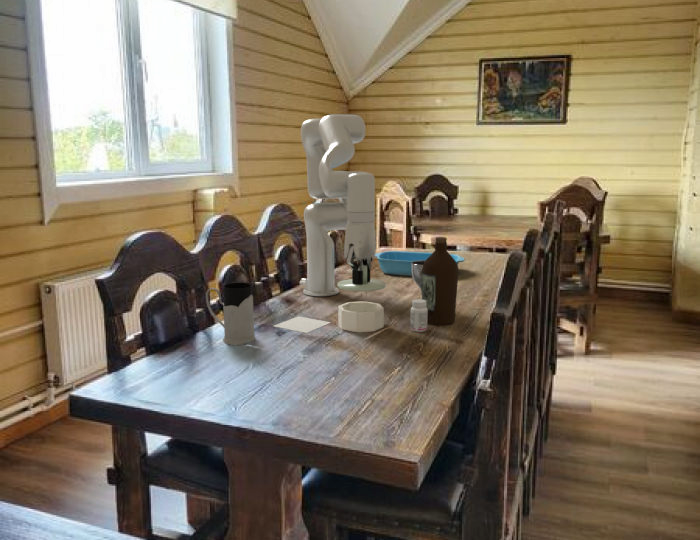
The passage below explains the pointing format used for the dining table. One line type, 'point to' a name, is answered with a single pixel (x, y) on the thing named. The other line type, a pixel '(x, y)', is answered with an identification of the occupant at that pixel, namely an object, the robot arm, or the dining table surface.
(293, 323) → the mat
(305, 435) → the dining table surface
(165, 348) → the dining table surface
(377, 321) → the bowl
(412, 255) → the casserole dish
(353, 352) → the dining table surface
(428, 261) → the olive oil
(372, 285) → the lid
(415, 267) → the wine glass
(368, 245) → the robot arm
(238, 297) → the glass holder
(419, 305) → the pill bottle
